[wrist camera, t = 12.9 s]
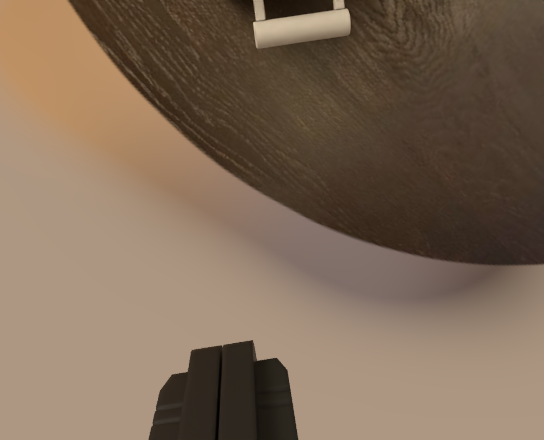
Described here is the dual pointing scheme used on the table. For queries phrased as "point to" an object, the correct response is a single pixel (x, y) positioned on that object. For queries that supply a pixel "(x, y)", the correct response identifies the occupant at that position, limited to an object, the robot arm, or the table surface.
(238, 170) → the table surface
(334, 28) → the fryer drawer
